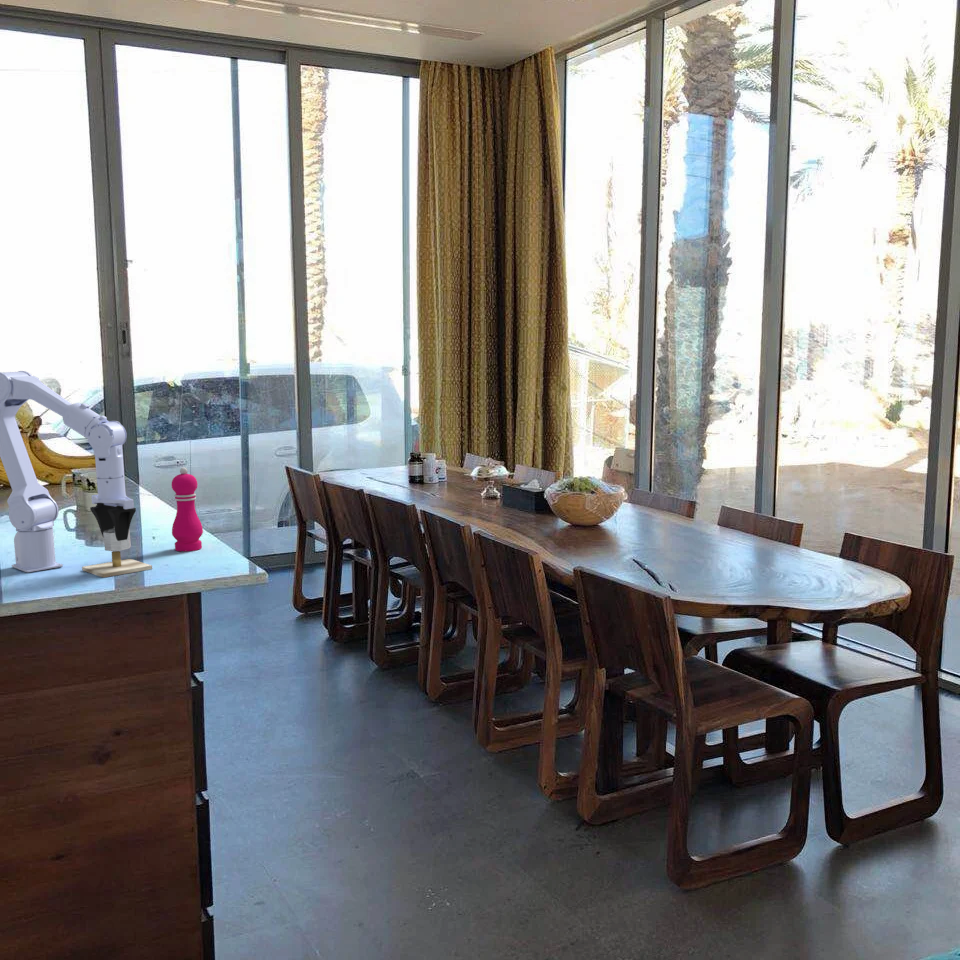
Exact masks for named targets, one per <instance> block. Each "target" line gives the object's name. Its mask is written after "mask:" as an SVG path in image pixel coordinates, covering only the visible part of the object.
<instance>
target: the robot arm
mask: <svg viewBox="0 0 960 960" xmlns="http://www.w3.org/2000/svg"><path fill="white" fill-rule="evenodd" d="M29 400H32V401H34V402H36V403H38V404H40V405H41V406H43V407H45V408H46V409H48V410H50V411H52V412H54V413H55V414H57V415H59V416H61V417H62V420H63V424H64V425H65V426H66V427H68V428H69V429H72V430H73V431H75V432H76V433H78V434H79V435H80V436H83V437H84V438H85V439H87V442H88V444H89V445H90V447H91V449H93V456H94V459H95V460H94V463H95V473H96V476H95V477H96V487H97V488H96V489H97V494H92V495H91V504H93V505H95V506H91V507H90V508H89V509H90V512H91V513H92V514H93V516H94V518H95V520H96V522H97V524H98V527H99V530H100V533H101V536H102V538H103V539H104V535H103V532H104V531H105V530H109V529H115V535H116V539H117V541H121V540H127V538H128V533H129V530H130V527H131V523H132V520H133V517H134V515H135V513H136V511H137V508H136V507H135V504H134V499H133V498H130V497H128V496H127V493H126V482H125V481H126V480H125V478H126V477H125V464H124V450H123V445H124V444H125V443H126V441H127V435H128V434H127V431H126V428H125V426H124V425H122V424H121V422H120V421H117V420H108V418H107V416H105V415H100V414H99V413H97V412H95V411H94V410H92V409H91V408H90V406H91V405H89V404H87V403H86V402H83V403H80V402H75V403H71V402H70V401H69V400H68V399H66V398H64V397H62V396H61V395H60V394H58V392H56V391H55V390H53V389H52V388H50V387H49V386H48V385H46V384H44V383H43V382H42V381H41V379H40V378H39V377H37V376H35V375H32V374H31V373H30V372H28V371H26V370H18V371H6V372H4V371H3V372H2V371H0V461H1V463H2V465H3V468H4V471H5V474H6V477H7V479H8V482H9V485H10V487H11V490H12V491H11V493H10V495H9V497H8V498H7V501H6V503H7V505H8V510H9V511H8V518H9V519H8V520H9V522H10V523H11V525H12V526H13V527H14V528H15V531H16V533H15V535H14V537H13V542H14V543H13V544H14V556H15V558H14V559H15V564H11V567H12V568H14V569H17V570H20V571H22V572H25V573H32V572H38V571H45V570H51V569H58V568H61V567H63V566H64V565H63V564H62V563H59V562H57V561H56V553H55V552H56V551H55V549H56V548H55V539H54V538H55V537H54V536H55V535H54V526H55V521H56V520H57V518H58V516H59V506H58V504H57V502H56V501H55V500H54V499H53V497H52V496H51V494H50V492H49V490H48V488H46V487H44V485H42V484H40V483H39V481H38V478H37V476H36V473H35V471H34V468H33V465H32V462H31V459H30V457H29V453H28V449H27V448H26V445H25V442H24V439H23V436H22V434H21V431H20V428H19V425H18V424H17V420H16V415H17V413H18V412H19V410H20V408H21V407H22V406H24V404H25V403H27V402H28V401H29Z"/></svg>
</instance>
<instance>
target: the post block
mask: <svg viewBox="0 0 960 960" xmlns="http://www.w3.org/2000/svg"><path fill="white" fill-rule="evenodd" d="M121 558H122V557H121V550H120V551H111V560H112V561H108V562H101V563H97V564H96V563H95V564H92V565H85V566H82V567H81V571H83V572H87V573H89V574H92V575H95V576H97V577H101V578H109V577H115V576H120V575H126V574H131V573H132V574H133V573H138V572H142V571H148V570H149V571H150V570H152V569H153V565H151V564H150V563H149V564H148V563H145V562H141V561H139V560H136V559H132V558H127V559H121Z"/></svg>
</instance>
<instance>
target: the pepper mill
mask: <svg viewBox="0 0 960 960" xmlns="http://www.w3.org/2000/svg"><path fill="white" fill-rule="evenodd" d="M179 473H180V474H177V475H175V476H174V477H173V478H172V481H171V489H172V490H173V492H174V493H175V494H174V501H176V514H175V518H174V520H173V523H172V528H171V535H172V537H173V538H174V539H175V540H176V541H175V542H174V549H175V551H177V552H182V551H183V552H195V551H198V550H201V549H202V548H203V546H202V545H203V543H202V540H200V538H201V537H202V535H203V534H204V530H203V525H202V522H201V519H200V518H199V516H198V514H197V511H196V506H195V500H196V499H197V496H196V495H197V494H196V493H195V492H196V490H197V489H198V486H199V485H198V480H197V478H196V477H195V476H194V475H193V474H190V473H188V469H187V468H186V467H185V466H182V467H181V468H180V469H179Z"/></svg>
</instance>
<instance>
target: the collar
mask: <svg viewBox="0 0 960 960" xmlns="http://www.w3.org/2000/svg"><path fill="white" fill-rule="evenodd" d="M103 535H104V538H103V542H104V550H105V551H108V552H113V551H120V552H121V551H124V550H128V549H130V548H131V547H132V543H131V533H130V529H129V533H128V538H127V540H121V541H117V539H116V535H115V529H109V530H105V531H104V532H103Z"/></svg>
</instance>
